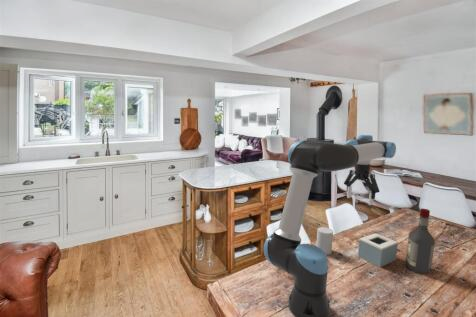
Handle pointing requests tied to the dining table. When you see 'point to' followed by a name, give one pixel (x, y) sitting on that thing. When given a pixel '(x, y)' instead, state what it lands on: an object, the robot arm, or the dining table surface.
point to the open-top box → (377, 249)
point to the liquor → (420, 246)
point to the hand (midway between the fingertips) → (359, 200)
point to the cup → (325, 239)
